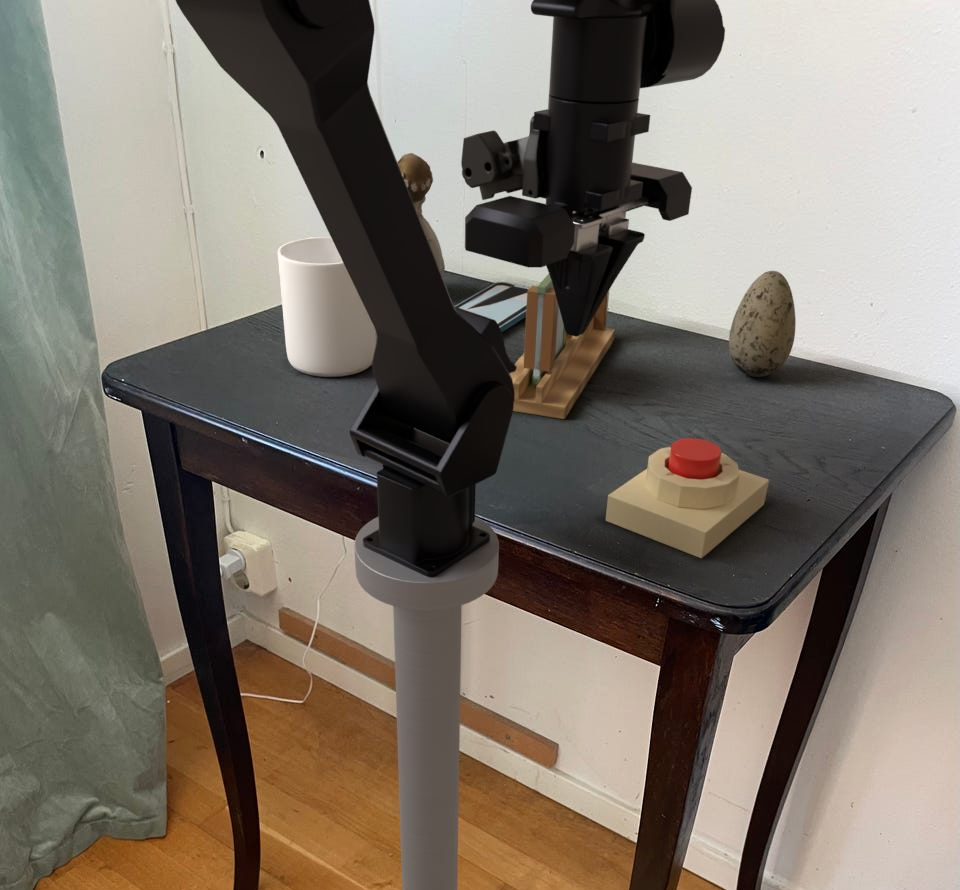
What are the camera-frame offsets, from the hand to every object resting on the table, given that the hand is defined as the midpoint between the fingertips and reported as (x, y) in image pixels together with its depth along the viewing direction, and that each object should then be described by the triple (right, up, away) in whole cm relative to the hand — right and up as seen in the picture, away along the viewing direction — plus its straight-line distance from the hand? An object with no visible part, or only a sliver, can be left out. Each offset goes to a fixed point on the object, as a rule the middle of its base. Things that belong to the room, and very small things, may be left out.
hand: (574, 334), depth 74 cm
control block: (+9, -13, +3) cm, 16 cm away
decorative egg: (+20, +2, +25) cm, 32 cm away
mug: (-20, +5, +27) cm, 34 cm away
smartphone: (-5, +11, +37) cm, 39 cm away
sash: (0, +2, +22) cm, 22 cm away
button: (+9, -10, +1) cm, 13 cm away
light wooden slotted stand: (+1, +3, +25) cm, 26 cm away
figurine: (-15, +15, +42) cm, 47 cm away
